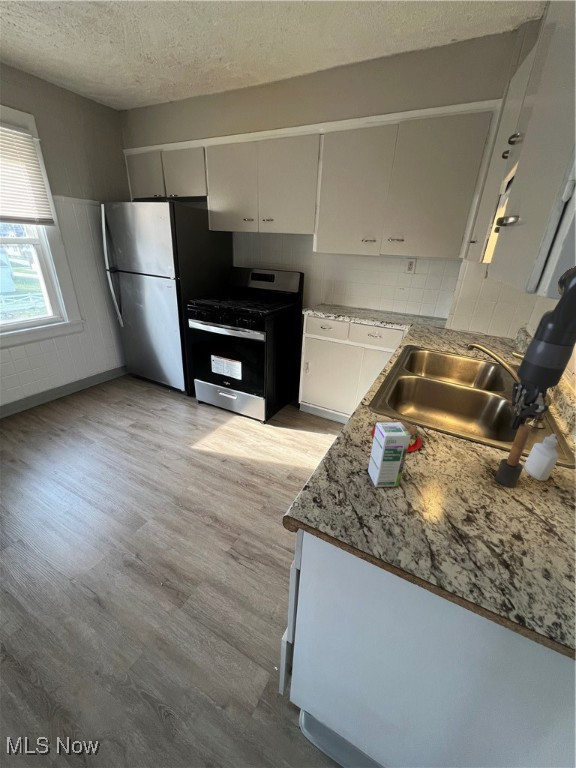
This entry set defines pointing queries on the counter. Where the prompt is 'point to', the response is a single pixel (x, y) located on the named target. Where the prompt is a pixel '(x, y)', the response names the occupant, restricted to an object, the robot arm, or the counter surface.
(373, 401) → the counter surface
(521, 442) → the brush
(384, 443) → the syrup box
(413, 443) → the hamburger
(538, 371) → the robot arm
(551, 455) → the eye dropper bottle
